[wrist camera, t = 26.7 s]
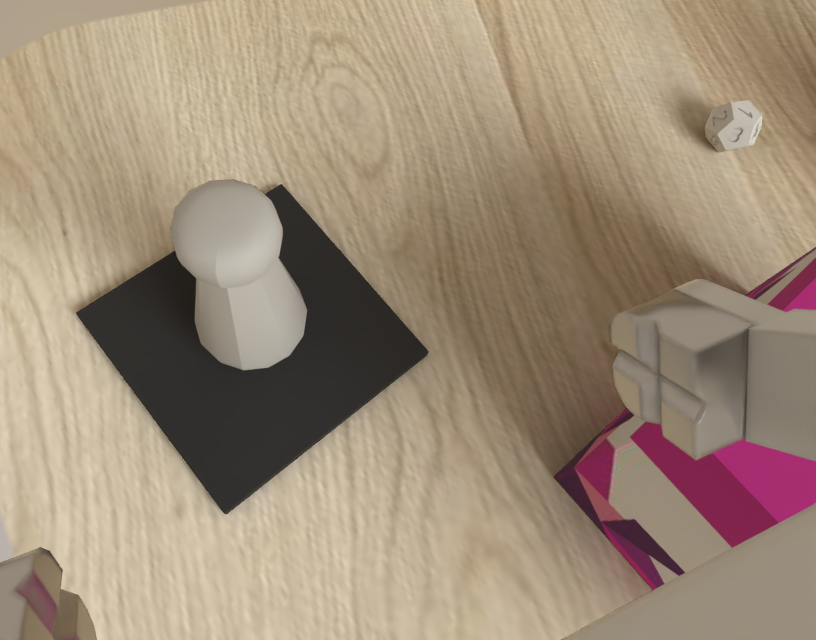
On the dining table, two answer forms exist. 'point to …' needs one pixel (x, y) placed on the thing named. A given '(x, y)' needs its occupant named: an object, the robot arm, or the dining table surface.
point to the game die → (733, 125)
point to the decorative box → (691, 477)
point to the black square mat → (258, 388)
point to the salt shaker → (238, 274)
